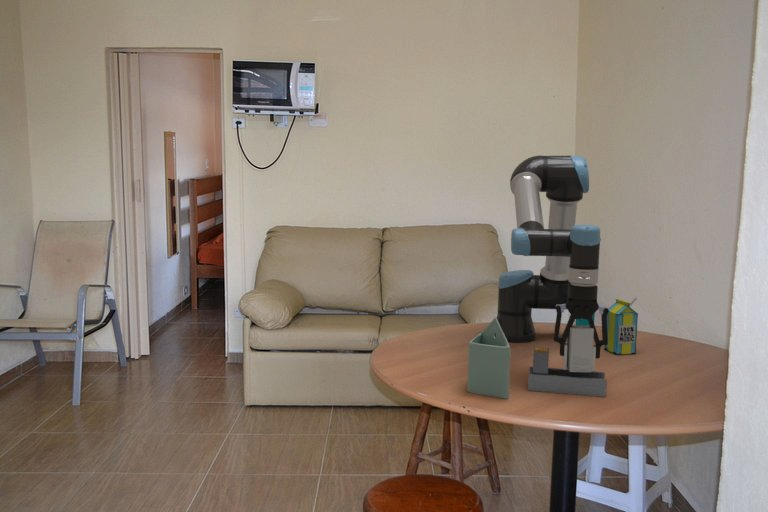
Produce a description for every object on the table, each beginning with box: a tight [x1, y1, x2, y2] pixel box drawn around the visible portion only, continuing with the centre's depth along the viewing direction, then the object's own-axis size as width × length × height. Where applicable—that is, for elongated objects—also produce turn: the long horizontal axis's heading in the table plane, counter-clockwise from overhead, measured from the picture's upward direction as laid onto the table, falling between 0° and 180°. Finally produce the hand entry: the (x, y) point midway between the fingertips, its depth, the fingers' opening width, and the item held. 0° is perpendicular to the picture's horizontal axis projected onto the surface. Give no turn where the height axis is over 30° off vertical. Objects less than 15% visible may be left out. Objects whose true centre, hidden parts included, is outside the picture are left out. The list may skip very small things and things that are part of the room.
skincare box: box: [566, 324, 594, 372], centre depth 191 cm, size 6×4×12 cm
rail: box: [527, 346, 608, 398], centre depth 192 cm, size 8×20×11 cm, turn 77°
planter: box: [466, 317, 511, 400], centre depth 190 cm, size 16×8×20 cm, turn 20°
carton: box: [603, 297, 639, 356], centre depth 231 cm, size 7×8×18 cm
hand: (578, 368), depth 192 cm, fingers closed on skincare box, 7 cm apart
